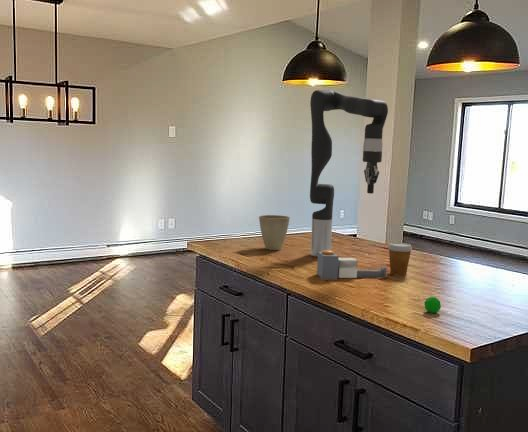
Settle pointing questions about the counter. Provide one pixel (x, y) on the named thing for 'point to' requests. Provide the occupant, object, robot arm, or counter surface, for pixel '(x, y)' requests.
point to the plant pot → (273, 230)
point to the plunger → (327, 252)
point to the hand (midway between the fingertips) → (370, 193)
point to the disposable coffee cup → (399, 258)
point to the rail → (372, 273)
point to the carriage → (347, 268)
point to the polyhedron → (432, 305)
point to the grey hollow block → (327, 266)
